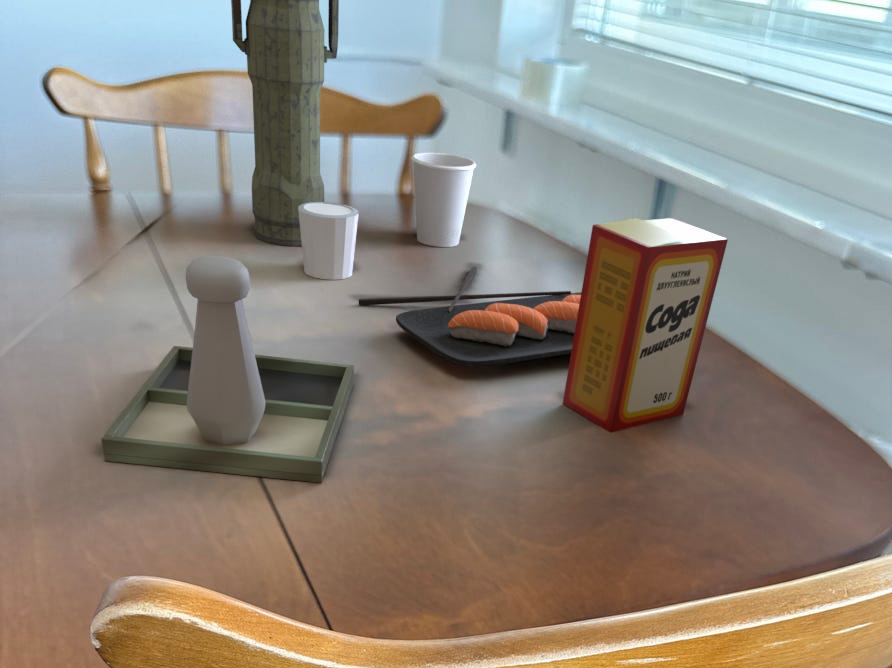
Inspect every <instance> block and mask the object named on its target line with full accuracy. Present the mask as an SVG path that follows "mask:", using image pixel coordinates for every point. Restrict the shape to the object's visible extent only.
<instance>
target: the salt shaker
mask: <svg viewBox="0 0 892 668" xmlns="http://www.w3.org/2000/svg"><path fill="white" fill-rule="evenodd" d="M185 283H186V289H187V291H188V293H189V295H191V297H193V298H195V299H197V301H196V303H197V304H196V312H195V324H194V325H195V326H194V334H193V343H192V348H193V351H192V360H191V368H190V377H189V386H188V395H187V403H186V405H187V409H188V412H189V413H190V415H191V416H192V418H193V420H194V421H195V423H196V425H197V427H198V429H199V431H200V433H201V435H202V437H203V439H204V440H207V441H211V442H214V443H217V444H221V445H231V444H239V443H246V442H248V441H249V440H250V439H251V438H252V436H253V435H254V434H255V433H256V430H257V428H258V425H259V423H260V420H261V418H262V417H263V413H264V410H265V403H266V402H265V398H264V393H263V389H262V385H261V380H260V376H259V372H258V367H257V363H256V358H255V355H256V354H255V349H254V346H253V345H254V344H253V342H252V337H251V333H250V327H249V325H248V324H249V323H248V319H247V316H246V312H245V311H246V310H245V307H244V303H243V299H246V298H247V296H248V295H249V292H250V288H251V286H250V285H251V284H250V283H251V279H250V273H249V269H248V268H247V267H246V266H245V265H244V264H243V263H242V262H241V261H239V260H237V259H235V258H231V257H228V256H227V257H226V256H222V255H221V256H220V255H208V256H202V257H201V256H200V257H197V258H194V259H192V260H191V261H190V263H188V264H187V267H186V269H185Z"/></svg>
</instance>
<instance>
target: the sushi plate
mask: <svg viewBox="0 0 892 668" xmlns="http://www.w3.org/2000/svg"><path fill="white" fill-rule="evenodd" d="M477 271H478V267H477V266H471V268H470V270H469V272H468V274H467V275H466V277H465V279H464V281H463V283H462V285H461V286H460V289H459V290H458V292H457V293H456V294H455V295H453V294H452V295H423V296H394V297H393V296H392V297H369V298H367V297H366V298H365V297H364V298H358V306H379V305H396V304H415V303H417V304H418V303H432V302H446V301H447V302H448V301H451V304H450V305H447V306H439V307H438V306H437V307H429V308H421V309H415V310H409V311H404V312H400V313H399V314H397V315H395V322H396V324H397V325H398V326H399V328H401V329H402V330H403V331H404V332H405V333H407V334H408V335H409V336H410V337H412V338H414V339H415V340H416V341H418V342H419V343H421V344H422V345H423V346H424V347H427V348H428V349H429V350H431V351H432V352H434V353H436V354H437V355H439V356H440V357H442V358H444V359H445V360H448V361H450V362H453V363H454V364H458V365H462V366H469V367H470V366H471V367H491V366H499V365H507V364H513V363H520V362H526V361H534V360H541V359H547V358H552V357H561V356H566V355H571V351H572V345H573V339H574V333H575V327H576V322H577V316H578V310H579V304H580V298H581V292H582V291H581V292H580V291H579V292H572V291H570V290H562V291H561V290H560V291H559V290H558V291H536V292H534V291H533V292H512V293H509V292H508V293H507V292H506V293H483V294H463V293H464V291H465V290H466V289H467V287H468V286H469V284H470V283H471V281H472V280H473V278H474V277H475V275H476V273H477ZM520 297H521V298H520ZM503 298H512V299H503ZM480 299H483V300H484V299H503V300H494V301H485V302H474V303H466V304H457V303H458V301H465V300H480Z"/></svg>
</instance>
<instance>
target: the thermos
mask: <svg viewBox="0 0 892 668" xmlns="http://www.w3.org/2000/svg"><path fill="white" fill-rule="evenodd" d="M339 1H340V0H328V16H327V17H328V24H327V25H328V28H327V29H328V35H327V37H328V38H327V39H328V46H326V45H325V26H324V23H323V19H322V16H321V11H320V0H250V2H249V5H248V6H249V7H248V10H247V14H246V18H245V38H244V39H243V37H244V36H243V18H242V17H243V16H242V0H230V3H231V4H230V6H231V26H232V29H231V32H232V42H233V43H234V44H235V45H236V46H237V48H238V49H239V50H240V51H241V52H242V53H244V55H245V56H246V64H247V65H246V66H247V75H248V78H249V80H250V83H251V87H252V88H251V91H252V115H253V116H252V117H253V140H254V141H253V143H254V169H253V173H252V176H251V201H252V202H251V205H252V206H251V208H252V214H253V217H254V236H255V237H256V238H257V239H258V240H260V241H263V242H265V243H269V244H273V245H278V246H284V247H287V246H288V247H302V242H301V232H300V222H299V211H298V206H300V205H302V204H305V203H310V202H325V184H324V180H323V178H322V174H321V91H322V88H323V84H324V82H325V64H327V63H328V60H329V59H330V60H332V59H337V56H338V49H339V48H338V47H339V15H340V14H339V9H340V7H339V5H340V4H339V3H340V2H339Z"/></svg>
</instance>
